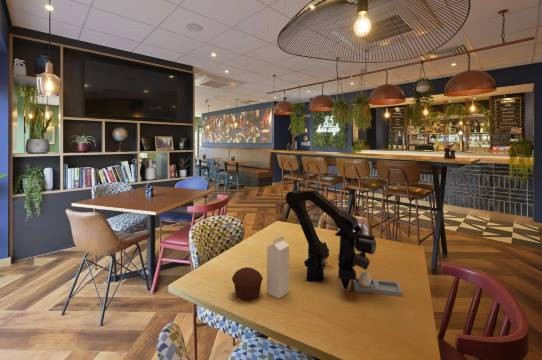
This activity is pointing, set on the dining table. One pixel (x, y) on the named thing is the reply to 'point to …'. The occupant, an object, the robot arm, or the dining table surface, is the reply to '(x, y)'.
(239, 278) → the muffin
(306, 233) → the robot arm
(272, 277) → the milk
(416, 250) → the dining table surface
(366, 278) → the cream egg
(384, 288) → the grey flat rectangular tray
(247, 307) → the dining table surface
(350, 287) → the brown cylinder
